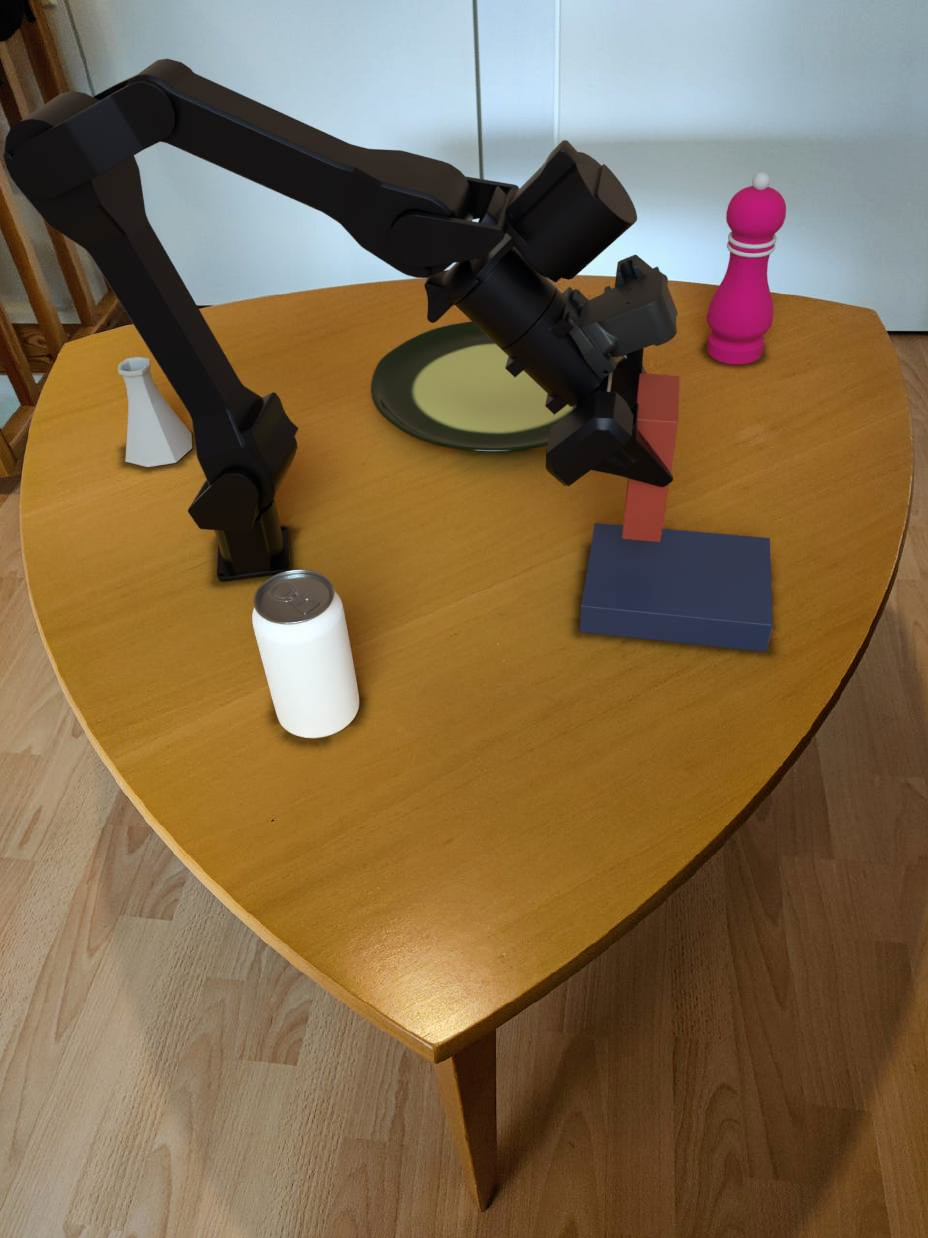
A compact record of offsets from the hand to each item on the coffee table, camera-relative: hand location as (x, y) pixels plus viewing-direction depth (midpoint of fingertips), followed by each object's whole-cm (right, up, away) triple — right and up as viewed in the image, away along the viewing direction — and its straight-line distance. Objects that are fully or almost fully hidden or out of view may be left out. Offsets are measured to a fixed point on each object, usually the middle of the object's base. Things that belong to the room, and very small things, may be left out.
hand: (669, 457), depth 77 cm
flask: (-48, +5, +29) cm, 56 cm away
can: (-27, -20, +1) cm, 34 cm away
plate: (-12, +12, +33) cm, 37 cm away
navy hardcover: (+2, -11, +8) cm, 14 cm away
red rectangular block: (-1, -4, +4) cm, 6 cm away
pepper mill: (+15, +18, +38) cm, 45 cm away
